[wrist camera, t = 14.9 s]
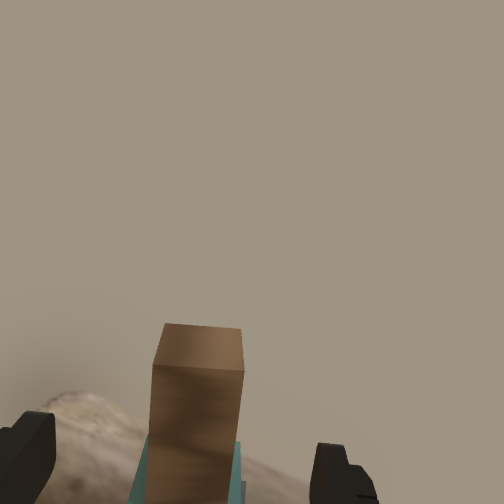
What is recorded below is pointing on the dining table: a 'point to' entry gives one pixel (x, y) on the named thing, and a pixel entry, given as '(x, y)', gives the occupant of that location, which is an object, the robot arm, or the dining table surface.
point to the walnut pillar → (193, 414)
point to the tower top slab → (139, 483)
